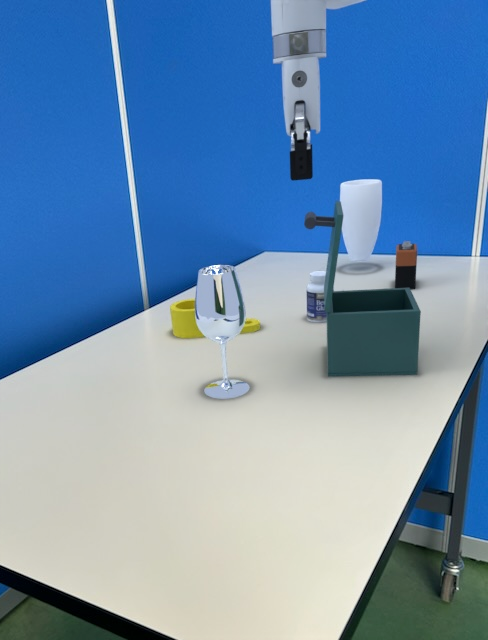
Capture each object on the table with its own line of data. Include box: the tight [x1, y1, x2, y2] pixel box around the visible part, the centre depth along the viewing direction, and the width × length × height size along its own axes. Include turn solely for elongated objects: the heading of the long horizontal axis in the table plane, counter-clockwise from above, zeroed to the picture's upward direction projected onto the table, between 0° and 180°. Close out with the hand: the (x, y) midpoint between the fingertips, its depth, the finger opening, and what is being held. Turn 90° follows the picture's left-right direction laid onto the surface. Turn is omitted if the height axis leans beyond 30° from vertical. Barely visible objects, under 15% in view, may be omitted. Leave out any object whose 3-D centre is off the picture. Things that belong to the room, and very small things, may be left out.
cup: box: [339, 178, 383, 262], centre depth 155 cm, size 10×10×22 cm
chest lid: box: [303, 200, 343, 312], centre depth 99 cm, size 15×13×5 cm
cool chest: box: [326, 287, 422, 378], centre depth 103 cm, size 14×13×11 cm
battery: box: [394, 240, 418, 290], centre depth 140 cm, size 4×7×10 cm, turn 163°
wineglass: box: [194, 264, 250, 400], centre depth 97 cm, size 8×8×20 cm
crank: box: [169, 298, 261, 339], centre depth 127 cm, size 18×8×6 cm, turn 81°
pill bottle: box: [306, 270, 335, 323], centre depth 126 cm, size 5×5×10 cm
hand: (302, 175), depth 96 cm, fingers open, 9 cm apart
